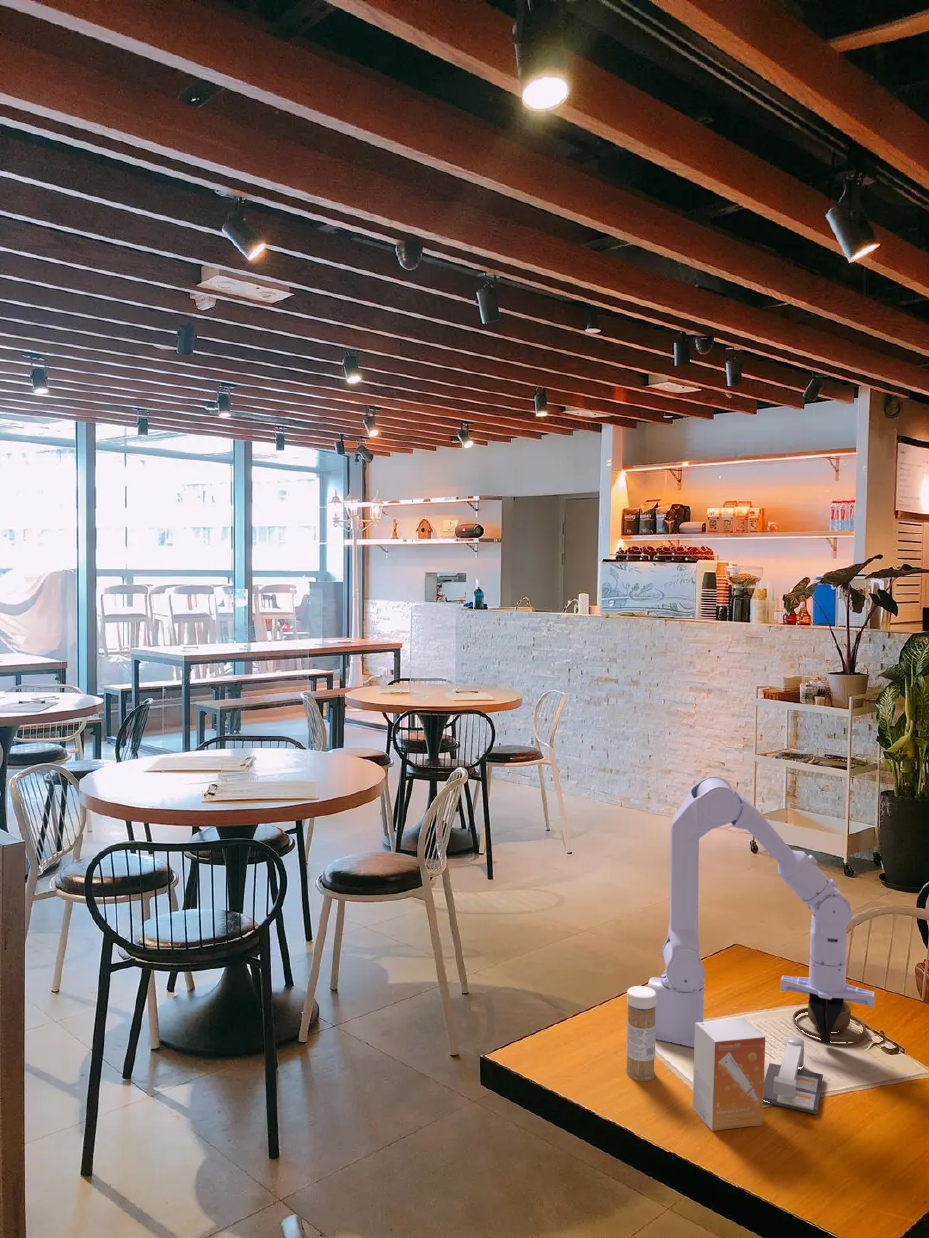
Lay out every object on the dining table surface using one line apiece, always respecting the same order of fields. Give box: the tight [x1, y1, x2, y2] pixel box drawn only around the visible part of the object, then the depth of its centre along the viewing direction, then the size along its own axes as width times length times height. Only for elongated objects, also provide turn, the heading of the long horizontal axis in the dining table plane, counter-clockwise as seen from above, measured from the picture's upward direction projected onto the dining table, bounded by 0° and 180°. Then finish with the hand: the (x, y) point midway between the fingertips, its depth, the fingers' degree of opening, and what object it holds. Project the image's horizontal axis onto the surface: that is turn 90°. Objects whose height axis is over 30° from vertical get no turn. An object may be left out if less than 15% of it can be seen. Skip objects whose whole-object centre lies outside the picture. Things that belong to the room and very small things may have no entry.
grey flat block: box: [763, 1053, 824, 1116], centre depth 147 cm, size 8×15×2 cm, turn 155°
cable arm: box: [773, 1035, 805, 1098], centre depth 147 cm, size 16×3×2 cm, turn 155°
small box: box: [692, 1017, 766, 1132], centre depth 138 cm, size 8×6×13 cm
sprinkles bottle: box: [625, 985, 657, 1082], centre depth 149 cm, size 5×5×14 cm
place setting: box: [792, 999, 884, 1043], centre depth 169 cm, size 18×20×6 cm
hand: (825, 1039), depth 159 cm, fingers closed
